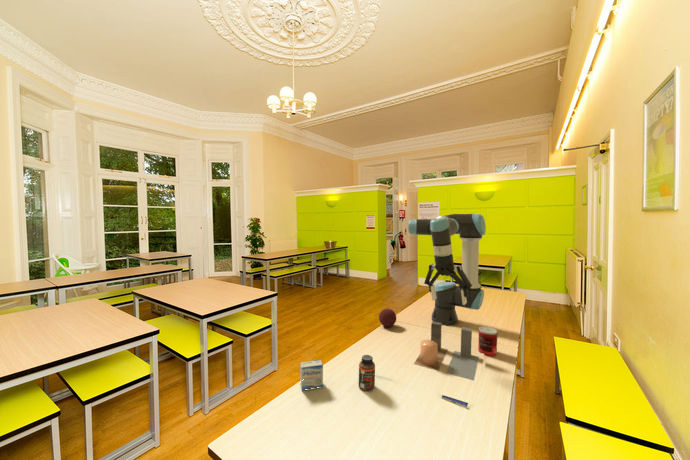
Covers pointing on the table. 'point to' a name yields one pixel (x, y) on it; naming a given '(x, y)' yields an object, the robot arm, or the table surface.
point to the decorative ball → (387, 317)
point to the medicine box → (311, 374)
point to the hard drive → (455, 401)
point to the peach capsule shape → (428, 352)
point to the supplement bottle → (367, 373)
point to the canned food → (487, 341)
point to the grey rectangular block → (464, 358)
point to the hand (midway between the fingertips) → (449, 301)
